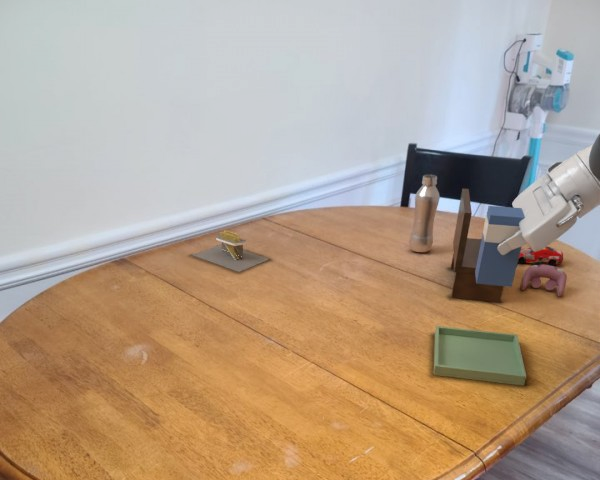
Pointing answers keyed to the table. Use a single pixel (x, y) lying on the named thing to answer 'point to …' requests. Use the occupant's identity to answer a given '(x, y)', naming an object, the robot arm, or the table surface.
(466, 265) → the wooden toy chair
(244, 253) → the platform
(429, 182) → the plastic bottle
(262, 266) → the table surface
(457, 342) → the tray
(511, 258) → the box
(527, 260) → the race car
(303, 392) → the table surface
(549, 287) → the video game controller
